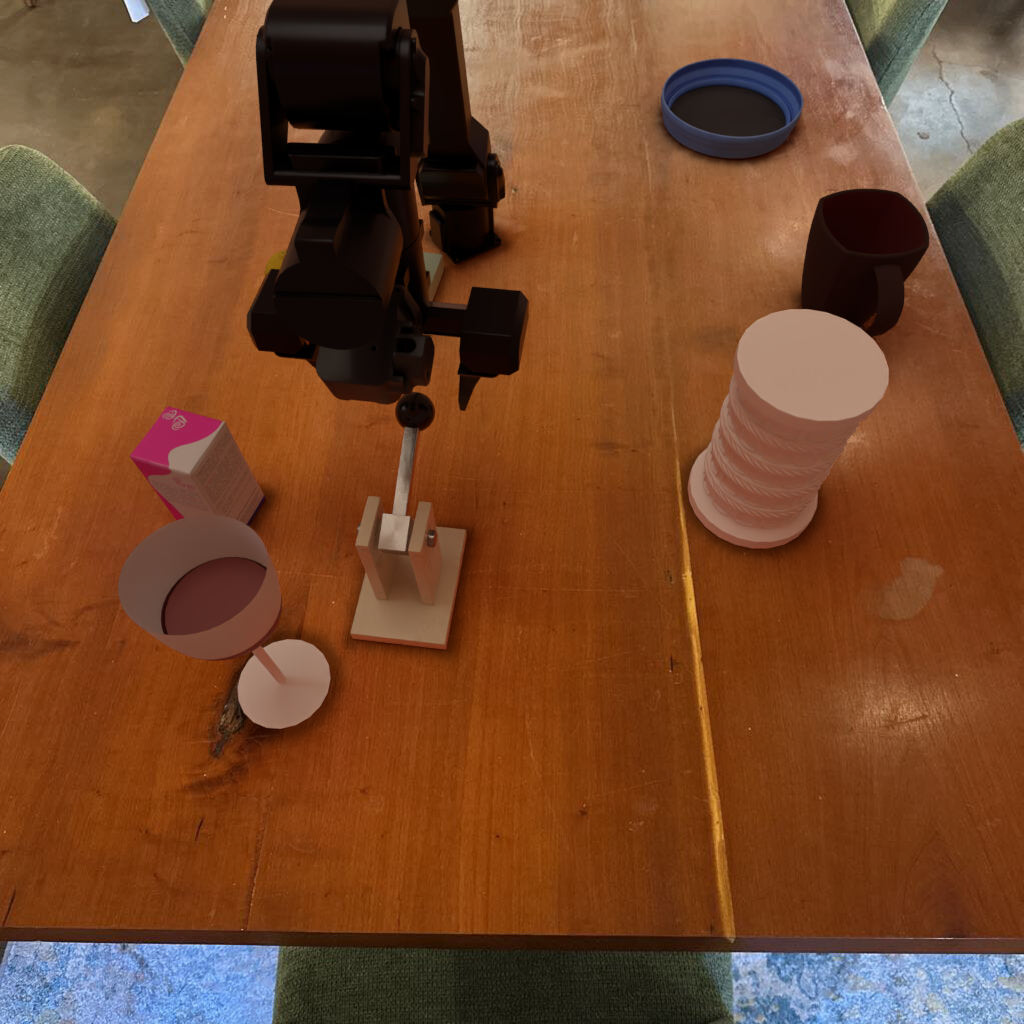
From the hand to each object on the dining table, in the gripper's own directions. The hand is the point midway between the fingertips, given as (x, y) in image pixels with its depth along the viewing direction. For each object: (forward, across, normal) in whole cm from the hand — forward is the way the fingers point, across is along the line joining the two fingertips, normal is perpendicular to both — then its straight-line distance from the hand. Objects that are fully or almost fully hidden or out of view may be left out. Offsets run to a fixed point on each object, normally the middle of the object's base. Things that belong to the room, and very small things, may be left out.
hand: (405, 400), depth 60 cm
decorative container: (+14, +30, +4) cm, 33 cm away
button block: (+13, -9, +25) cm, 30 cm away
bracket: (+14, +1, -9) cm, 17 cm away
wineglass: (+14, -8, -19) cm, 25 cm away
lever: (+5, +1, -4) cm, 6 cm away
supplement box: (+14, -18, -4) cm, 23 cm away
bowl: (+12, +28, +64) cm, 70 cm away
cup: (+13, +40, +27) cm, 50 cm away
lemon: (+13, -18, +22) cm, 32 cm away
